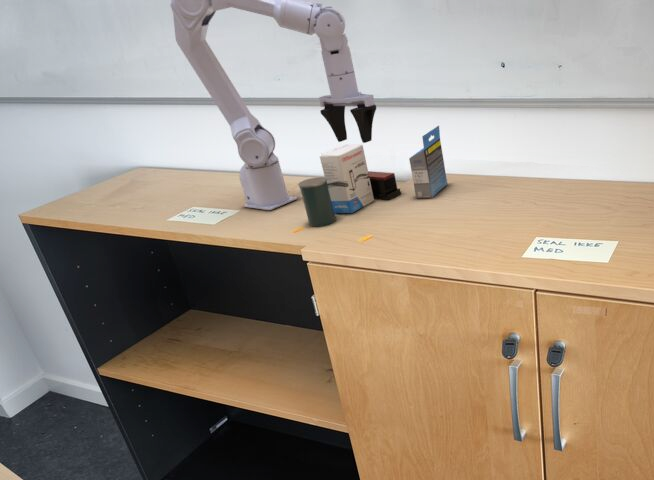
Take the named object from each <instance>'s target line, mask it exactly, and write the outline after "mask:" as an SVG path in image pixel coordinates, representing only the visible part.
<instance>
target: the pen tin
mask: <svg viewBox="0 0 654 480" xmlns="http://www.w3.org/2000/svg"><path fill="white" fill-rule="evenodd" d="M298 187H299V190H300V194H301V197H302V198H301V199H302V201H303V205H304V209H305V212H306V213H305V214H306V217H307V220H308V224H309V226H310V227H315V228H317V227H318V228H319V227H325V226H328V225H331V224H332V223H334V222H335V221H336V219H337V218H336V215H335V214H336V213H334V210H333V206H332V202H331V198H330V193H329V189H328V185H327V179H326V178H325V176H324V177H323V176H320V177H319V176H318V177H312V178H307V179H305V180H304V179H303V180H302V181H300V182H298Z"/></svg>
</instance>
